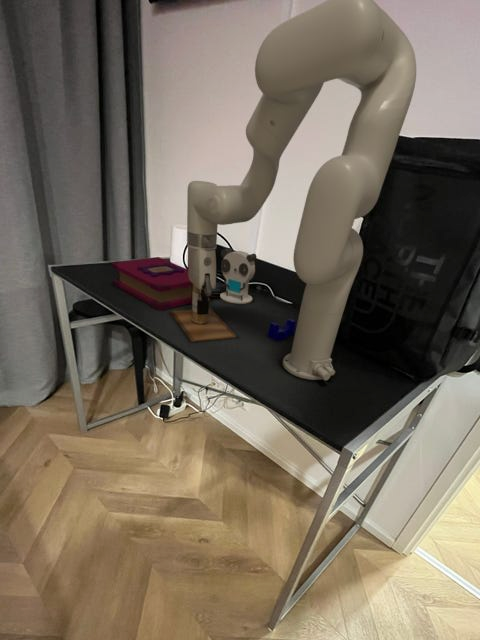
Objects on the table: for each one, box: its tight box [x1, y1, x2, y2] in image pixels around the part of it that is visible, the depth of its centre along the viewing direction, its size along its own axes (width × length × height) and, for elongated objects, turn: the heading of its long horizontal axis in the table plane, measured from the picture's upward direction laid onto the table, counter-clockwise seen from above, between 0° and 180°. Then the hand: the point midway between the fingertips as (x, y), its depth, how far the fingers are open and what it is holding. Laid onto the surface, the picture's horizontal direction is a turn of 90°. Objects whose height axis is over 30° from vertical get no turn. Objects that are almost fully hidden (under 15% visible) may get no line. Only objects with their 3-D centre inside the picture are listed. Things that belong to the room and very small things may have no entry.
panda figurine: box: [219, 247, 258, 305], centre depth 120 cm, size 12×11×15 cm
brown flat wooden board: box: [170, 308, 237, 343], centre depth 103 cm, size 20×13×1 cm, turn 24°
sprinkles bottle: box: [191, 278, 207, 324], centre depth 99 cm, size 5×5×13 cm
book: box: [110, 256, 192, 311], centre depth 119 cm, size 21×28×8 cm
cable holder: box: [267, 318, 297, 342], centre depth 101 cm, size 8×4×4 cm, turn 126°
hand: (199, 309), depth 101 cm, fingers closed on sprinkles bottle, 4 cm apart
